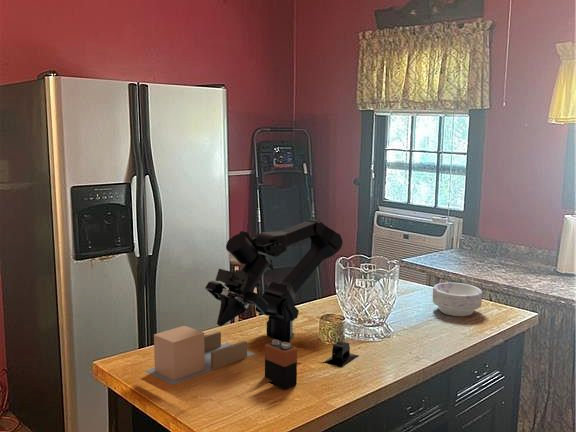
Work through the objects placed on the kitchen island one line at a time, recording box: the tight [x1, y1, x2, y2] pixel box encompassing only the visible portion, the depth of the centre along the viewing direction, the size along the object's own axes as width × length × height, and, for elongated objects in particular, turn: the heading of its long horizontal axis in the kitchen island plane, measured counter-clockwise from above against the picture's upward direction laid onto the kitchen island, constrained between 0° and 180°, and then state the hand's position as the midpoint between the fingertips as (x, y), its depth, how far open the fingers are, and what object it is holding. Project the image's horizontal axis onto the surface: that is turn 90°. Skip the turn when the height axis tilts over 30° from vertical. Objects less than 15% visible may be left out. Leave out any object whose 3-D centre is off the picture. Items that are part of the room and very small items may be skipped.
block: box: [153, 325, 205, 380], centre depth 146 cm, size 9×8×9 cm
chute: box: [144, 330, 256, 386], centre depth 151 cm, size 26×11×5 cm, turn 137°
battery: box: [264, 339, 298, 390], centre depth 142 cm, size 4×7×10 cm, turn 45°
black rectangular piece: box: [323, 340, 360, 368], centre depth 157 cm, size 12×7×5 cm, turn 147°
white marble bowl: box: [432, 282, 483, 317], centre depth 196 cm, size 15×15×8 cm
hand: (218, 325), depth 154 cm, fingers closed
